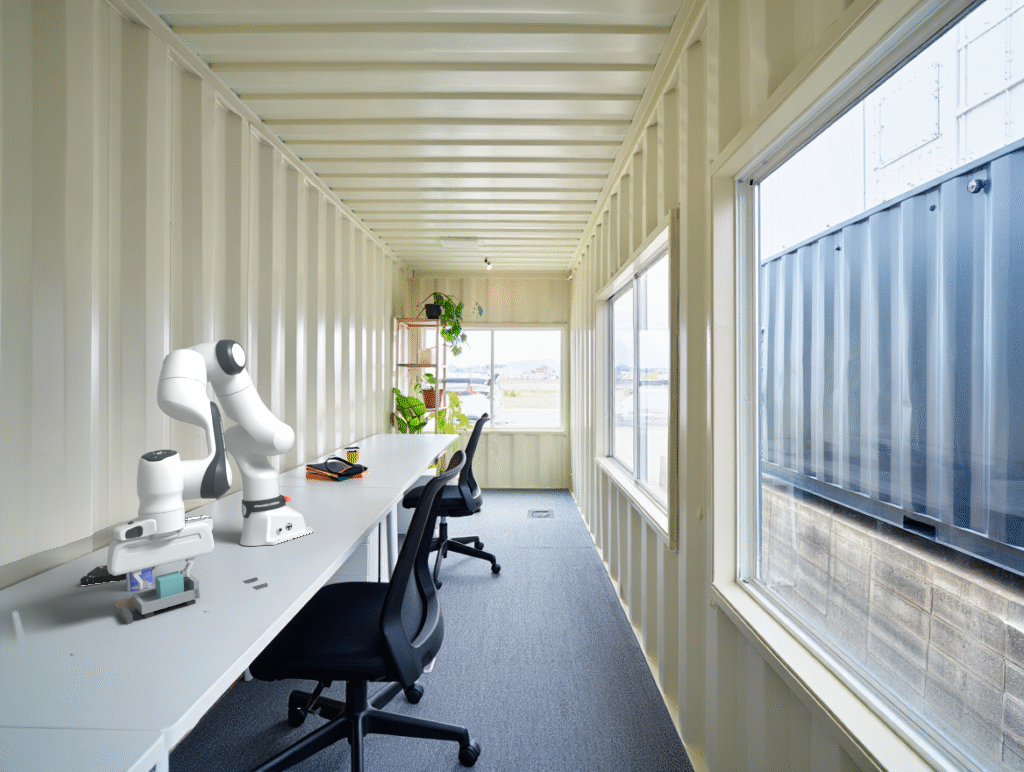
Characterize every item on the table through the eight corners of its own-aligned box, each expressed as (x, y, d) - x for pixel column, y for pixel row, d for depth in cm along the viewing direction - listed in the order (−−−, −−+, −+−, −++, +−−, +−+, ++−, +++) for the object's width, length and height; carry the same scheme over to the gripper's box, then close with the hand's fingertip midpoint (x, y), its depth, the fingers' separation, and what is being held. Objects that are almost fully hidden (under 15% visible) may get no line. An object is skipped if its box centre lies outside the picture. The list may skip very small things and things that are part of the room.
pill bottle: (158, 588, 133) (156, 550, 133) (137, 597, 128) (135, 557, 128) (143, 586, 135) (141, 549, 135) (121, 595, 130) (119, 556, 129)
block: (178, 590, 122) (177, 571, 122) (184, 594, 119) (183, 575, 119) (155, 596, 119) (155, 576, 119) (161, 601, 116) (160, 581, 116)
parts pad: (159, 595, 128) (159, 590, 128) (165, 601, 124) (165, 596, 124) (113, 607, 122) (113, 602, 122) (119, 614, 118) (119, 609, 118)
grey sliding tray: (188, 595, 125) (187, 571, 125) (200, 604, 119) (198, 580, 119) (132, 611, 117) (131, 586, 117) (142, 622, 111) (141, 596, 111)
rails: (255, 579, 136) (255, 567, 136) (268, 586, 131) (267, 574, 131) (119, 619, 115) (118, 605, 115) (127, 630, 110) (126, 615, 110)
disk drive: (80, 589, 136) (146, 579, 141) (79, 579, 136) (145, 569, 141) (97, 576, 146) (158, 567, 151) (96, 566, 146) (157, 557, 151)
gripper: (208, 511, 128) (210, 567, 128) (104, 530, 113) (106, 593, 113) (217, 514, 124) (219, 572, 124) (109, 535, 109) (112, 601, 109)
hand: (164, 583), depth 118 cm, fingers open, 7 cm apart
